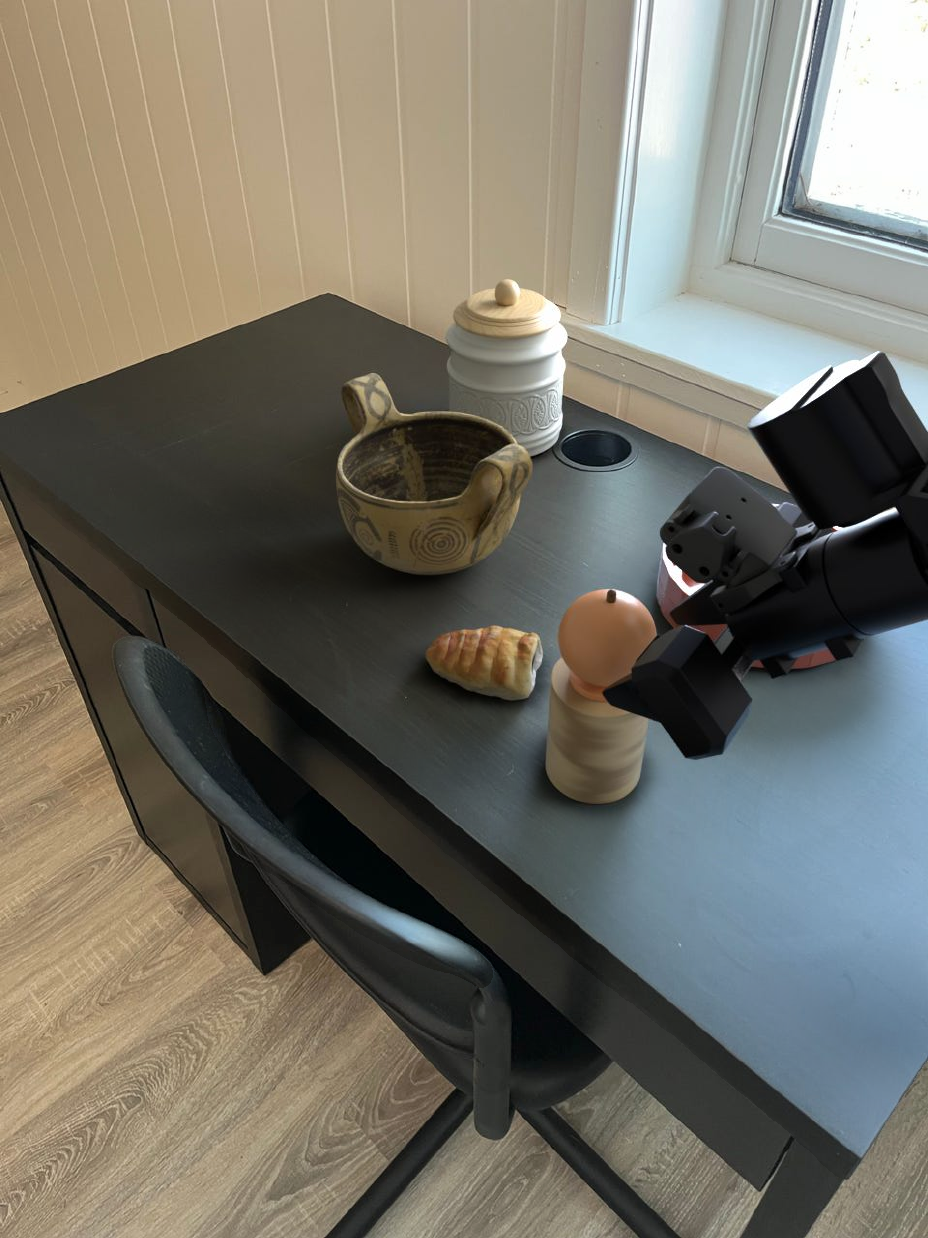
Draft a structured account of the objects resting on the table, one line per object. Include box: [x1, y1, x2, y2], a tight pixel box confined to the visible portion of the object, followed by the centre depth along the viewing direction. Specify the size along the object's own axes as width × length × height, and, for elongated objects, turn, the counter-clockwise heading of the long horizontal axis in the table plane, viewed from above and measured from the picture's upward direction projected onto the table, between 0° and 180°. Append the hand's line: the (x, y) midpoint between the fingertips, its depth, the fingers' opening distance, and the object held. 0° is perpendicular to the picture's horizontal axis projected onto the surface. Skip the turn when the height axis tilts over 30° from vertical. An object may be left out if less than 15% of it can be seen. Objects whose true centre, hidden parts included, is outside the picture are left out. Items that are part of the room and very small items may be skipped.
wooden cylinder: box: [545, 656, 650, 805], centre depth 67 cm, size 7×7×9 cm
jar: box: [445, 278, 568, 457], centre depth 103 cm, size 13×13×18 cm
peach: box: [557, 588, 658, 702], centre depth 62 cm, size 6×6×8 cm
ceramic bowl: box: [335, 372, 534, 576], centre depth 86 cm, size 22×17×15 cm
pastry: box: [425, 624, 544, 701], centre depth 77 cm, size 9×7×4 cm
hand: (641, 655), depth 61 cm, fingers open, 9 cm apart
